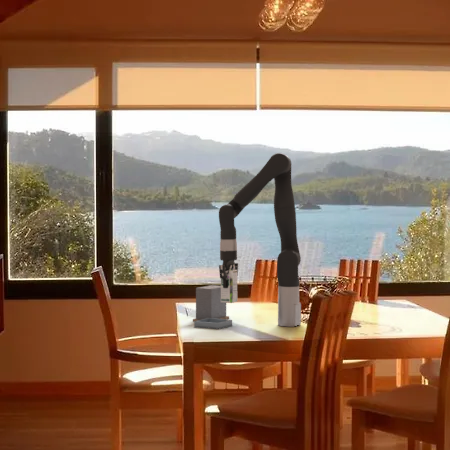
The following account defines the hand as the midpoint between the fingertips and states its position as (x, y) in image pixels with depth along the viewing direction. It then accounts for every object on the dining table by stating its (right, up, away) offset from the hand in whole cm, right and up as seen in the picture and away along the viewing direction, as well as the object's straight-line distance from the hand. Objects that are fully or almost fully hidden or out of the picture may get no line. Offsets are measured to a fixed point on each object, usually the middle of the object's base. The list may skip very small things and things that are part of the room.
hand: (229, 287), depth 367 cm
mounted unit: (-8, -16, +9) cm, 20 cm away
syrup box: (0, -7, 0) cm, 7 cm away
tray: (-7, -16, -10) cm, 20 cm away
